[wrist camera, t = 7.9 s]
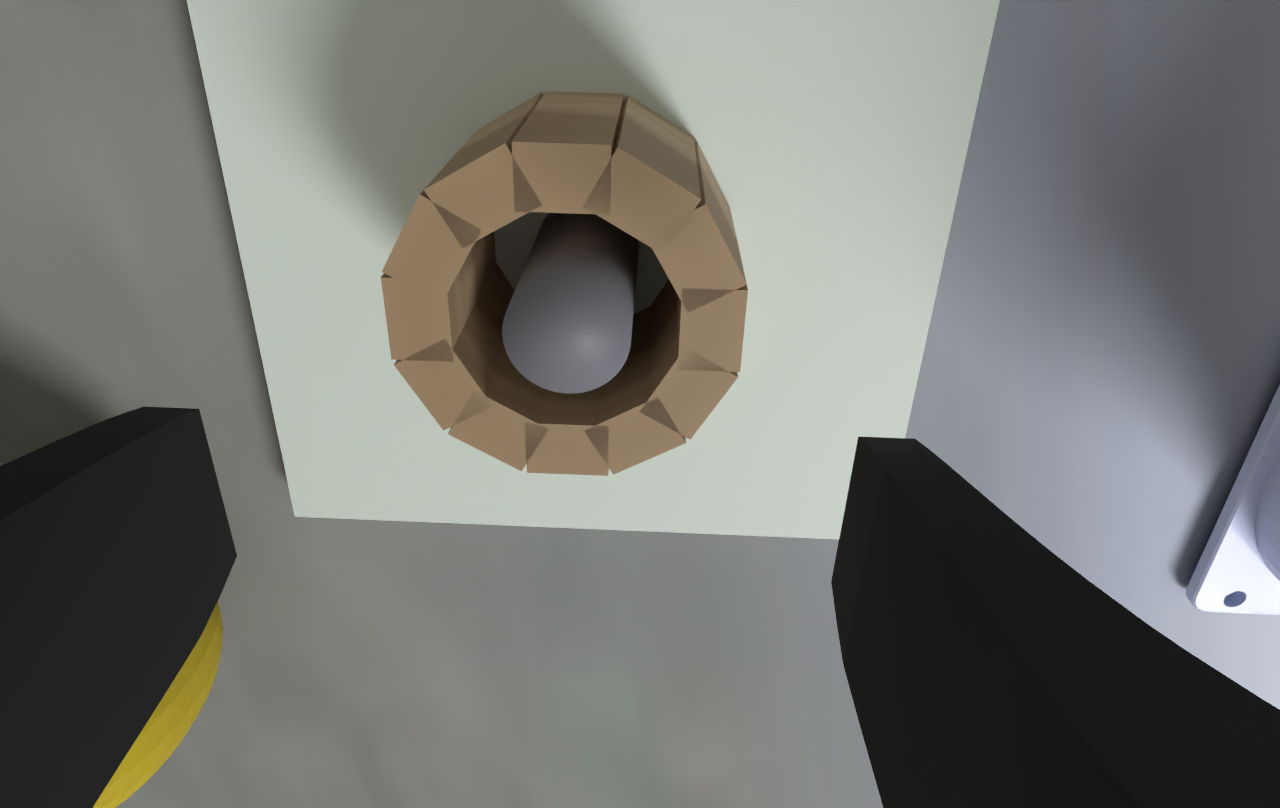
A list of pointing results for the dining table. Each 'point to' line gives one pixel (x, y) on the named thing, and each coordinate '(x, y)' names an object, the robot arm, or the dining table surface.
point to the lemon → (169, 717)
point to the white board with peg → (597, 235)
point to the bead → (480, 293)
